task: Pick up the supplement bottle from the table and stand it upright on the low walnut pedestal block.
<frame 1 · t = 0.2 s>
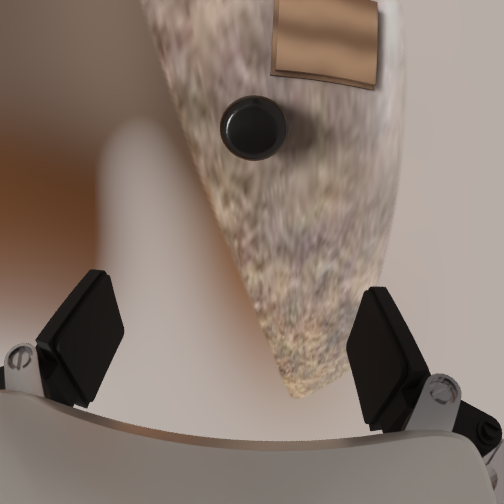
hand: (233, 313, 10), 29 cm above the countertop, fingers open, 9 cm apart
supplement bottle: (255, 123, 34), on the countertop
walnut pedestal: (324, 35, 27), on the countertop
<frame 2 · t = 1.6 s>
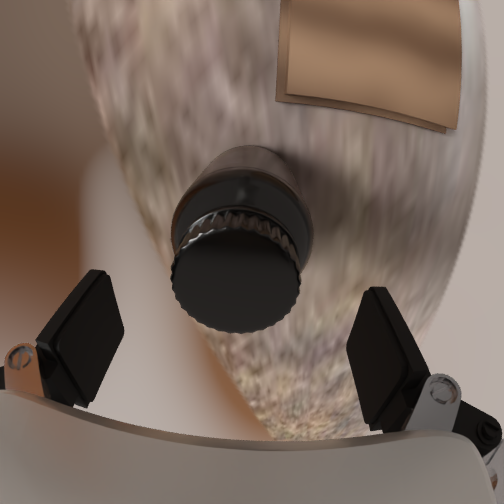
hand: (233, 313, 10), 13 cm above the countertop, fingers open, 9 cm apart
supplement bottle: (248, 188, 21), on the countertop
walnut pedestal: (371, 32, 14), on the countertop
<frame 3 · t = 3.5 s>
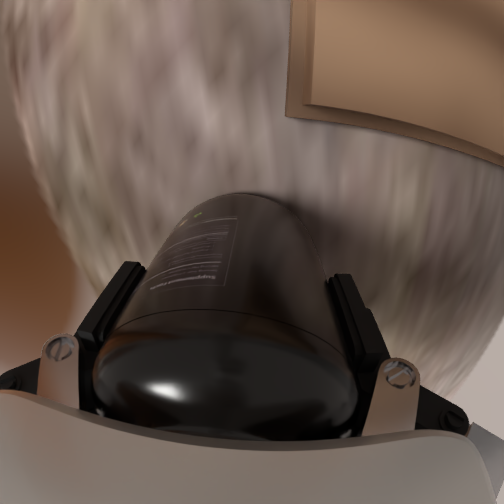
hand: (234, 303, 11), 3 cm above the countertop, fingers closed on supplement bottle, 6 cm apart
supplement bottle: (241, 257, 14), on the countertop, touching gripper
walnut pedestal: (432, 14, 7), on the countertop
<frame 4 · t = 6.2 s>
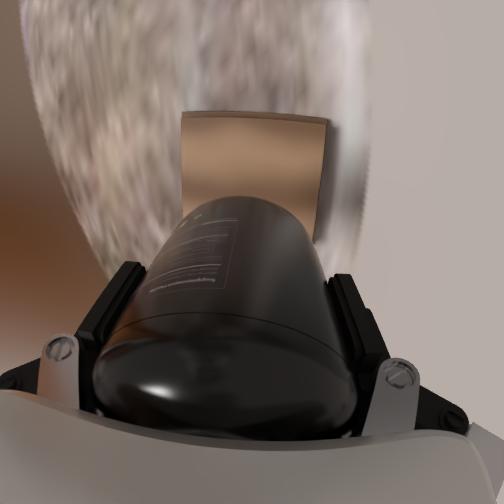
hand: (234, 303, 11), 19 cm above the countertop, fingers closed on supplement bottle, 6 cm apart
supplement bottle: (241, 258, 14), point 15 cm above the countertop, touching gripper
walnut pedestal: (251, 179, 27), on the countertop
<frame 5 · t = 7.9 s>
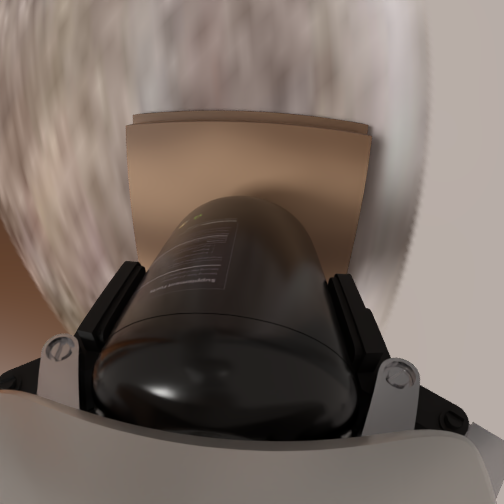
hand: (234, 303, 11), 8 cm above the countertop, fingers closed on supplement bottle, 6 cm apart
supplement bottle: (241, 258, 14), point 5 cm above the countertop, touching gripper
walnut pedestal: (245, 218, 18), on the countertop
when the fingers open (7 cm above the countertop, at t = 9.1 s): supplement bottle stays where it is, resting on walnut pedestal.
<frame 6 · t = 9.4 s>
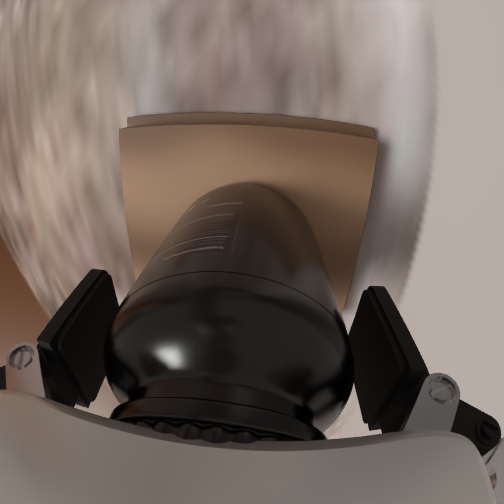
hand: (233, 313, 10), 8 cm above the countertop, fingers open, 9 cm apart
supplement bottle: (244, 244, 14), point 3 cm above the countertop, touching walnut pedestal
walnut pedestal: (244, 225, 17), on the countertop
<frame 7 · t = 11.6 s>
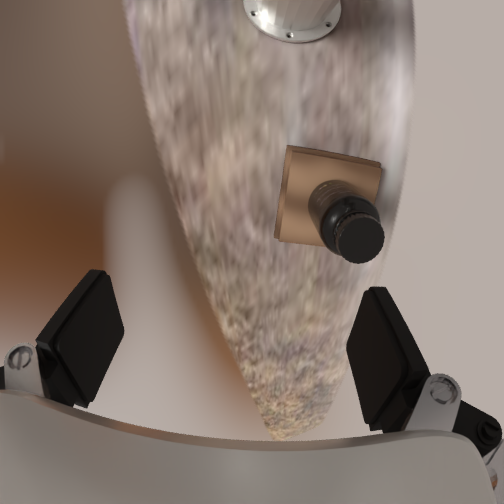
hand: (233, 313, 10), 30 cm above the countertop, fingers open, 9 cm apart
supplement bottle: (332, 203, 36), point 3 cm above the countertop, touching walnut pedestal
walnut pedestal: (326, 198, 39), on the countertop
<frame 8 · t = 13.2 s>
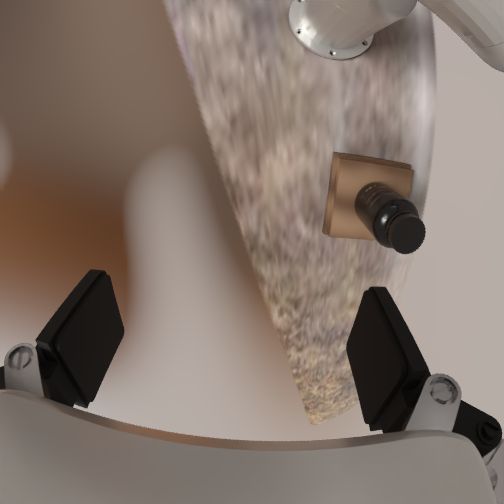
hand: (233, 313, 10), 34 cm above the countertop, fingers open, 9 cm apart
supplement bottle: (373, 201, 40), point 3 cm above the countertop, touching walnut pedestal
walnut pedestal: (366, 197, 43), on the countertop
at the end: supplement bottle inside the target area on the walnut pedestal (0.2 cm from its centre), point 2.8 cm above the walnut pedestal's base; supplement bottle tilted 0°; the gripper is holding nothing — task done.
